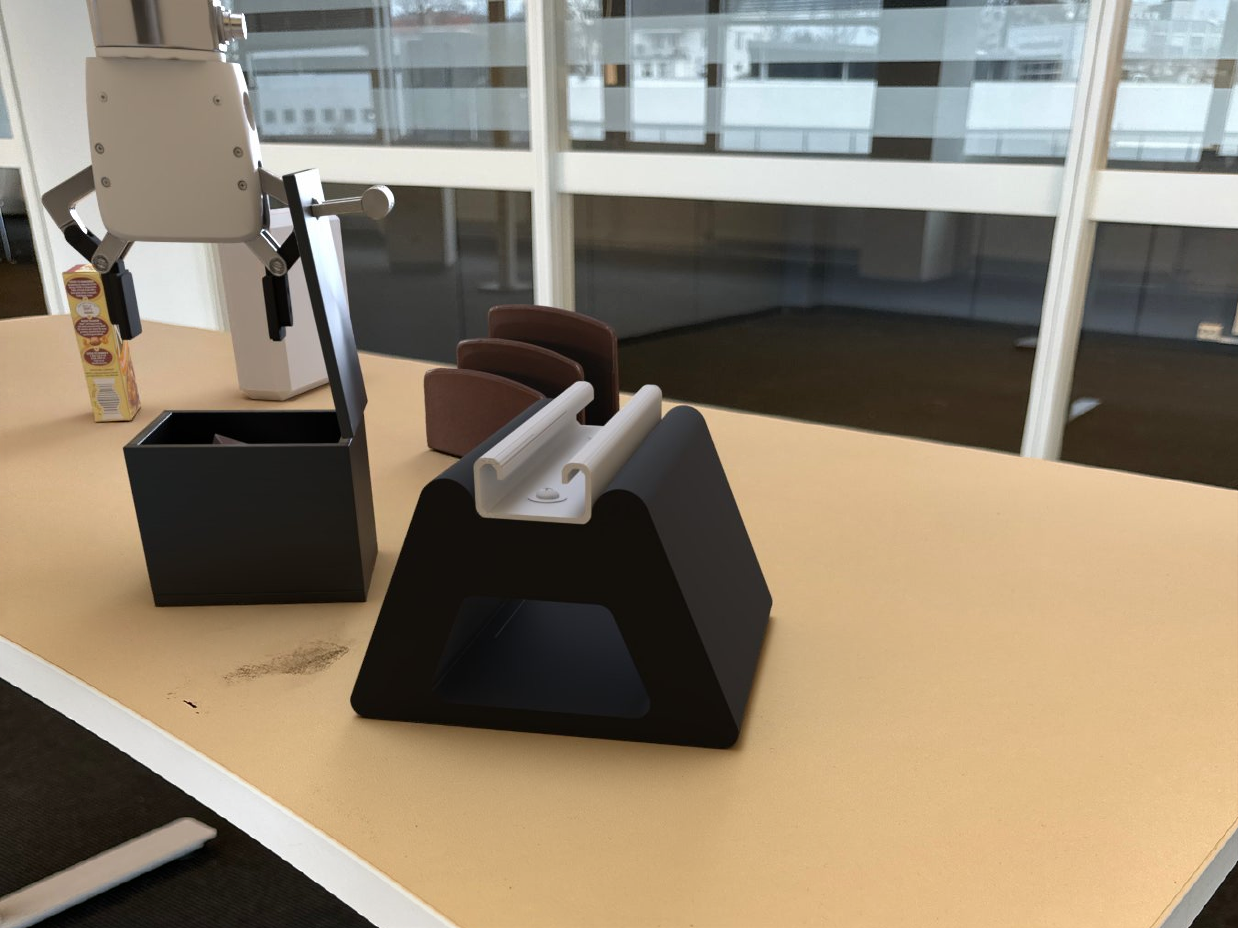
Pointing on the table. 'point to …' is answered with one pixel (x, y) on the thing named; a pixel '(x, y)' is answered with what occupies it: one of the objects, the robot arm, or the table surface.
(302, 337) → the bevelled white case
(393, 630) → the device stand
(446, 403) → the letter holder
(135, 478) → the waste bin
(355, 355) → the bin lid
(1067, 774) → the table surface
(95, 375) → the candy box
